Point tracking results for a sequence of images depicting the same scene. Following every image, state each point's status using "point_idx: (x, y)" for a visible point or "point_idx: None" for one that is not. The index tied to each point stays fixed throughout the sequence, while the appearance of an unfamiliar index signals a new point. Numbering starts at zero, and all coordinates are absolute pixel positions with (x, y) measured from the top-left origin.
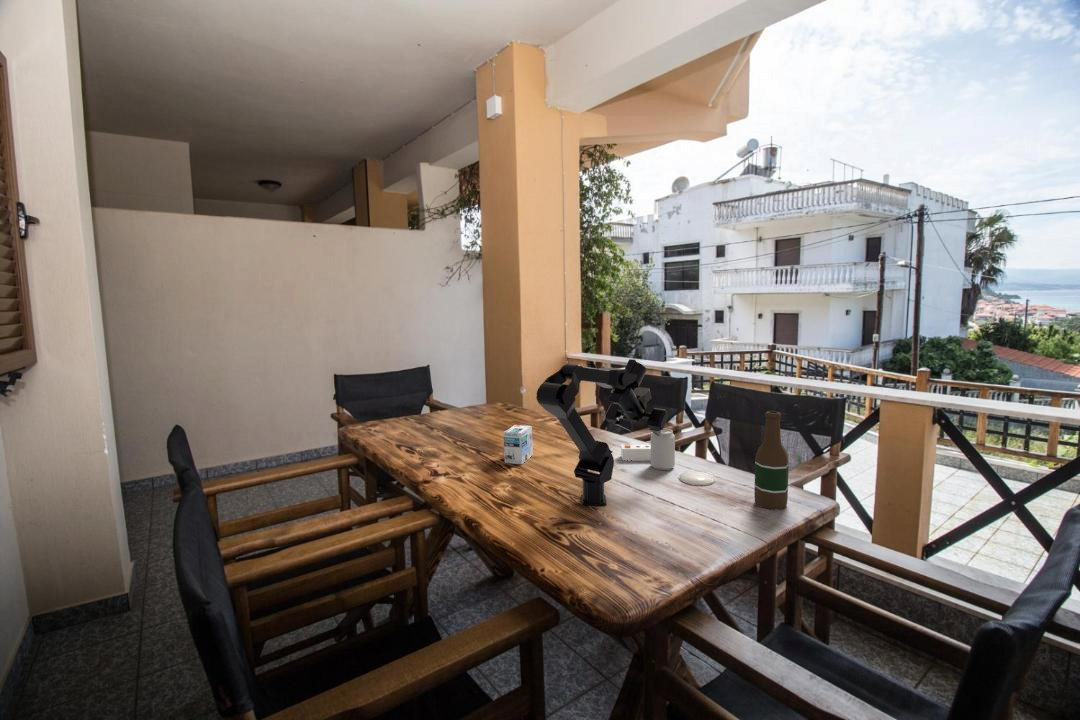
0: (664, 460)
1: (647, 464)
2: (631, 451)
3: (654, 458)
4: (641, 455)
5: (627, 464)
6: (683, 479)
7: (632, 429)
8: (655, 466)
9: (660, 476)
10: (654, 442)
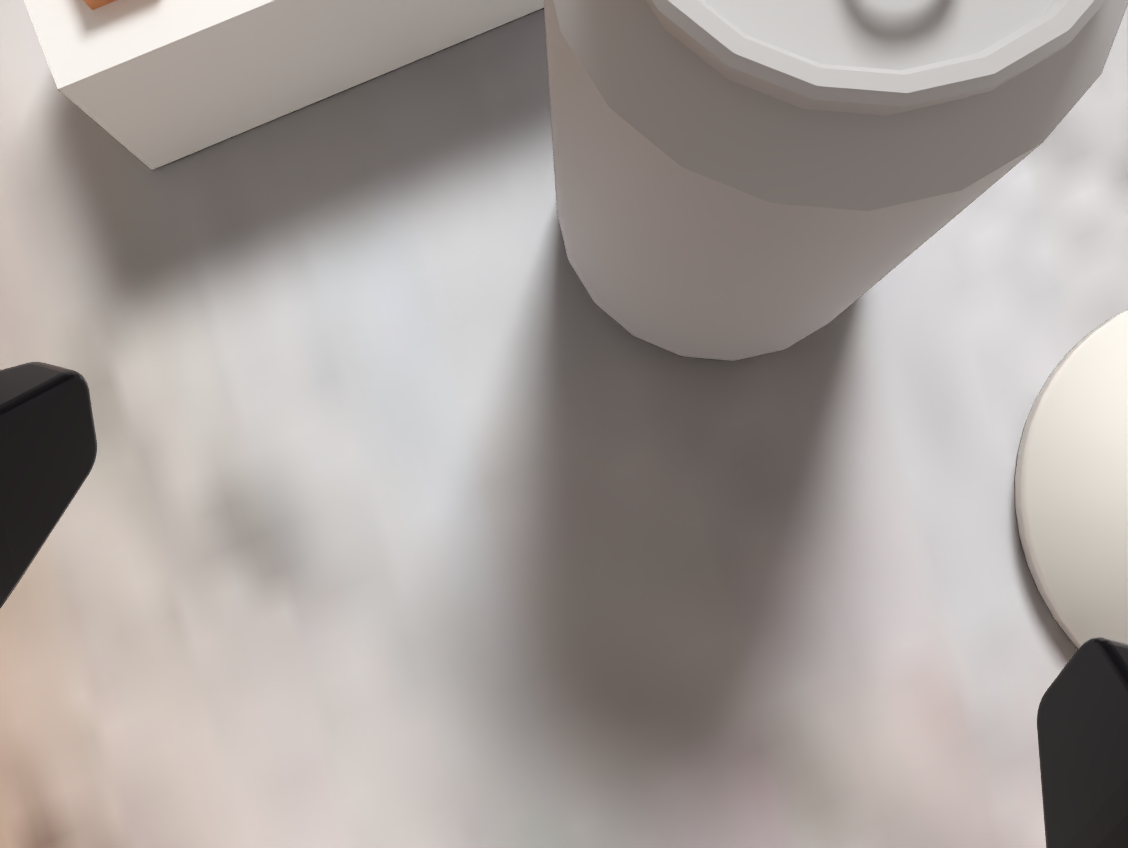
0: (813, 322)
1: (502, 185)
2: (213, 54)
3: (654, 311)
4: (373, 32)
5: (253, 285)
6: None
7: (63, 433)
8: (659, 344)
9: (781, 578)
10: (686, 221)
